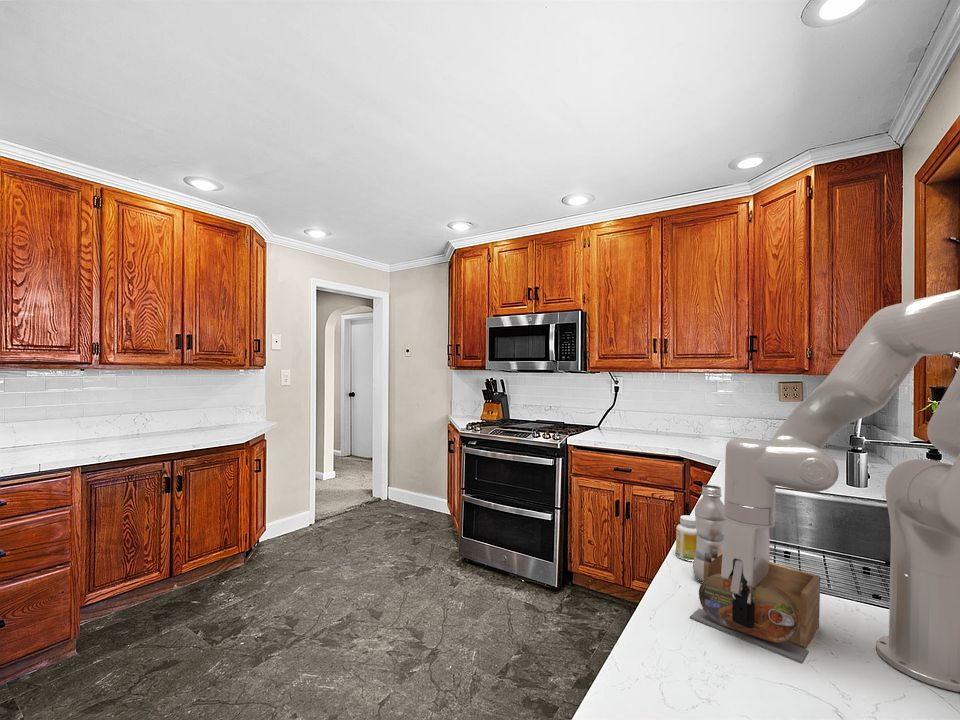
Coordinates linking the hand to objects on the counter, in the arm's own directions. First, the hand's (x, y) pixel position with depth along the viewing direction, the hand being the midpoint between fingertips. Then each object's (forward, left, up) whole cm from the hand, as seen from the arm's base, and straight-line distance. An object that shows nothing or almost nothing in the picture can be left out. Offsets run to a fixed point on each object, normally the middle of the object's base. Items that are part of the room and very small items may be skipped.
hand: (746, 620), depth 79 cm
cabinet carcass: (0, -7, -2) cm, 8 cm away
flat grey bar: (0, 0, -2) cm, 2 cm away
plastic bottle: (+12, -16, -3) cm, 21 cm away
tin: (0, 0, -2) cm, 2 cm away
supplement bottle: (+20, -26, -3) cm, 33 cm away
